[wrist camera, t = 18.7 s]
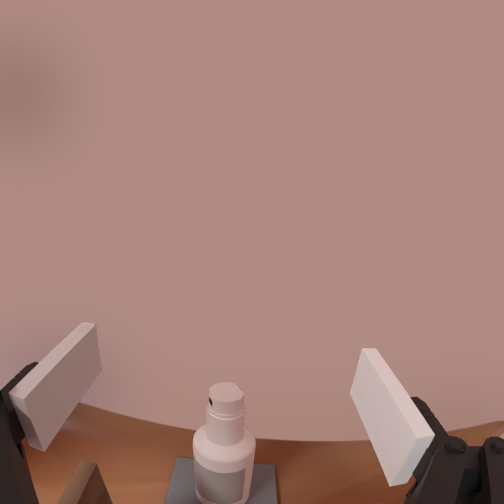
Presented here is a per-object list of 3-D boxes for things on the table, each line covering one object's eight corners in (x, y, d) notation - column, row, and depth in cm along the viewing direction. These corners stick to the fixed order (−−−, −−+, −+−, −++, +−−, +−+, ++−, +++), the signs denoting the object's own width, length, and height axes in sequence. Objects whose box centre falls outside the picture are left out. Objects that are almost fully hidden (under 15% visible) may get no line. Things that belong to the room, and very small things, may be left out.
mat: (161, 522, 27) (160, 520, 26) (176, 459, 38) (176, 456, 38) (278, 531, 27) (279, 529, 27) (273, 466, 39) (274, 464, 38)
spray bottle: (188, 481, 34) (181, 378, 30) (234, 469, 37) (242, 367, 33) (208, 518, 28) (206, 420, 24) (258, 502, 31) (275, 402, 28)
